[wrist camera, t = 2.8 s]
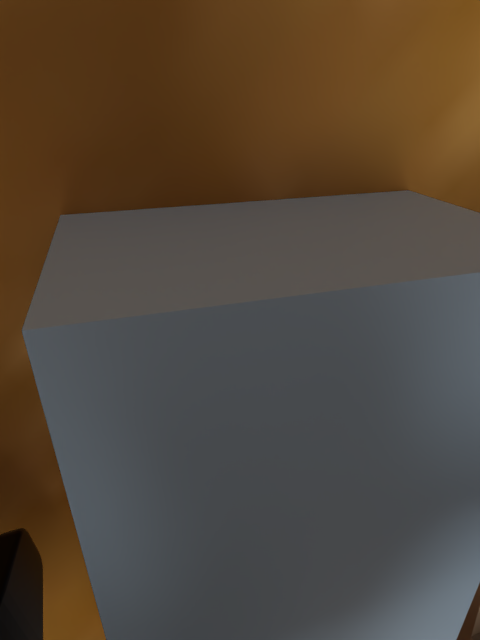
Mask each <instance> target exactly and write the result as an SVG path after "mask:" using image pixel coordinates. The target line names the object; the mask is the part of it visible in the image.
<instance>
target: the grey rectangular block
mask: <svg viewBox="0 0 480 640" xmlns="http://www.w3.org/2000/svg"><path fill="white" fill-rule="evenodd" d="M22 334H23V337H24V341H25V345H26V348H27V352H28V356H29V359H30V363H31V367H32V370H33V374H34V378H35V381H36V385H37V388H38V392H39V396H40V399H41V403H42V407H43V410H44V414H45V418H46V421H47V425H48V429H49V432H50V436H51V440H52V443H53V447H54V450H55V454H56V458H57V461H58V465H59V469H60V472H61V476H62V480H63V483H64V487H65V491H66V494H67V498H68V502H69V505H70V509H71V513H72V516H73V520H74V523H75V527H76V531H77V534H78V538H79V542H80V545H81V549H82V553H83V556H84V560H85V564H86V567H87V571H88V575H89V578H90V582H91V586H92V589H93V593H94V596H95V600H96V604H97V607H98V611H99V615H100V618H101V622H102V626H103V629H104V633H105V637H106V640H457V637H458V635H459V632H460V630H461V627H462V625H463V622H464V620H465V617H466V615H467V613H468V610H469V608H470V605H471V603H472V600H473V598H474V595H475V593H476V590H477V588H478V585H479V583H480V213H478V212H475V211H472V210H469V209H466V208H463V207H460V206H456V205H453V204H450V203H447V202H444V201H441V200H438V199H434V198H431V197H428V196H425V195H422V194H419V193H416V192H412V191H409V190H405V191H391V192H377V193H363V194H349V195H335V196H321V197H307V198H293V199H279V200H265V201H251V202H237V203H223V204H209V205H195V206H181V207H166V208H152V209H138V210H124V211H110V212H96V213H82V214H68V215H60V218H59V221H58V224H57V227H56V230H55V233H54V236H53V239H52V242H51V245H50V248H49V251H48V254H47V257H46V260H45V263H44V266H43V269H42V272H41V275H40V278H39V281H38V284H37V287H36V289H35V292H34V295H33V298H32V301H31V304H30V307H29V310H28V313H27V316H26V319H25V322H24V325H23V328H22Z"/></svg>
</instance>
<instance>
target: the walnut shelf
mask: <svg viewBox="0 0 480 640" xmlns="http://www.w3.org/2000/svg"><path fill="white" fill-rule="evenodd" d="M457 640H480V583H479V585H478V588H477V590H476V593H475V595H474V598H473V600H472V603H471V605H470V608H469V610H468V613H467V615H466V617H465V620H464V622H463V625H462V627H461V630H460V632H459V635H458V637H457Z"/></svg>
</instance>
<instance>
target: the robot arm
mask: <svg viewBox="0 0 480 640" xmlns="http://www.w3.org/2000/svg"><path fill="white" fill-rule="evenodd" d="M0 640H43V566H42V559H41V556H40V554H39V552H38V550H37V548H36V546H35V544H34V543H33V541H32V539H31V537H30V535H29V533H28V532H27V531H26V530H25V529H23V528H19V529H16V530H13V531H9V532H6V533H3V534H1V535H0Z"/></svg>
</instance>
